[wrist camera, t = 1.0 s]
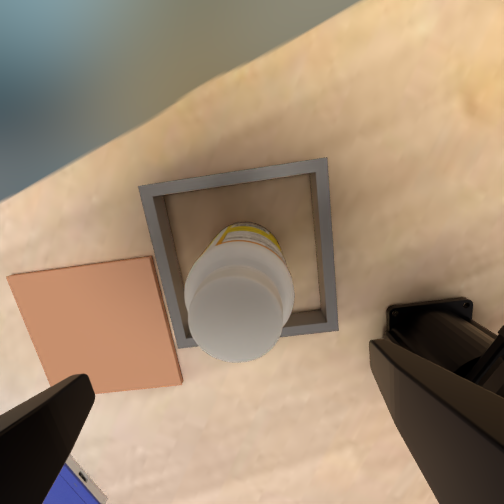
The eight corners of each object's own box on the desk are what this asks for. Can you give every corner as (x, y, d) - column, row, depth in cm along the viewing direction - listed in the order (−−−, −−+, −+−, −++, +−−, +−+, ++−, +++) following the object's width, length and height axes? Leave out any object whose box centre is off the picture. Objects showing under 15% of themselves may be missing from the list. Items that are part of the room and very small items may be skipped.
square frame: (319, 160, 18) (327, 157, 16) (331, 317, 21) (338, 330, 19) (150, 186, 19) (137, 186, 17) (185, 334, 22) (178, 348, 20)
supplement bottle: (232, 299, 21) (209, 398, 11) (198, 241, 20) (139, 295, 10) (293, 269, 20) (325, 348, 11) (261, 207, 19) (264, 231, 9)
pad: (151, 255, 20) (149, 257, 20) (183, 380, 23) (181, 384, 23) (11, 274, 21) (5, 276, 21) (59, 393, 24) (55, 398, 24)
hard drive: (10, 543, 28) (102, 509, 27) (-41, 494, 26) (54, 455, 25) (23, 524, 30) (110, 492, 28) (-25, 477, 28) (66, 439, 26)
